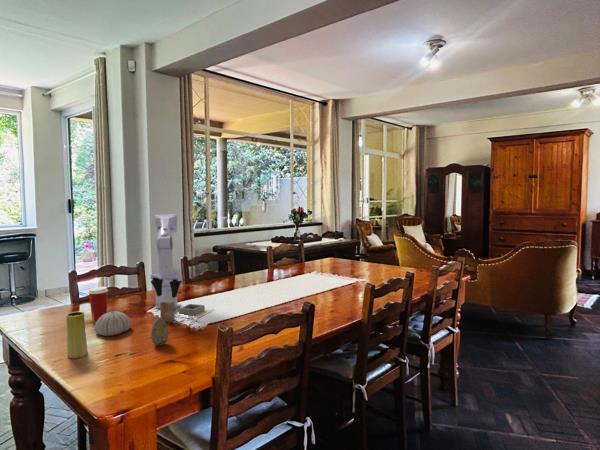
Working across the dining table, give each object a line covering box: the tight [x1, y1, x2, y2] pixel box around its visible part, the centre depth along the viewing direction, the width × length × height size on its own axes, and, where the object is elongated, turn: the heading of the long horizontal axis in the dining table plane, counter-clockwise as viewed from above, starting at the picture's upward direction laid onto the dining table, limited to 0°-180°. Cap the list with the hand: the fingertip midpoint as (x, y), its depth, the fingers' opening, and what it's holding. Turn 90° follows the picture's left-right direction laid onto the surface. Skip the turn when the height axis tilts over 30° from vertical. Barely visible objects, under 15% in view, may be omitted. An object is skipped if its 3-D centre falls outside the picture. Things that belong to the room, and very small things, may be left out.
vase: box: [65, 311, 89, 359], centre depth 137 cm, size 6×6×14 cm
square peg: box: [159, 301, 176, 323], centre depth 173 cm, size 4×4×8 cm
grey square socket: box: [175, 303, 215, 319], centre depth 183 cm, size 14×14×4 cm
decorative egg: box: [150, 317, 169, 347], centre depth 146 cm, size 6×6×10 cm
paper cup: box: [87, 286, 109, 324], centre depth 174 cm, size 8×8×14 cm
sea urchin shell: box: [93, 310, 132, 337], centre depth 160 cm, size 13×14×8 cm
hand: (166, 296), depth 173 cm, fingers open, 7 cm apart
